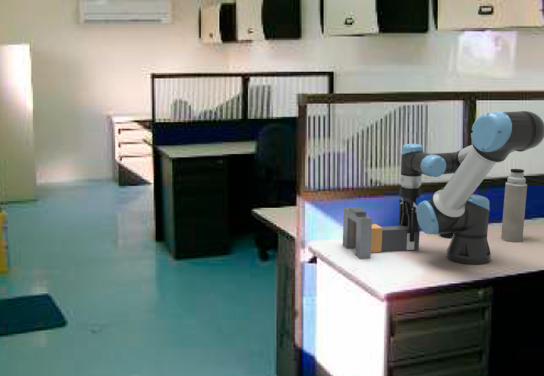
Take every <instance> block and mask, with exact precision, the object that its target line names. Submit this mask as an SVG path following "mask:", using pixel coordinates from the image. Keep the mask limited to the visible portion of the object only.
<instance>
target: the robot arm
mask: <svg viewBox="0 0 544 376" xmlns="http://www.w3.org/2000/svg"><path fill="white" fill-rule="evenodd" d="M471 131H472V132H471V133H470V138H471V145H468V146H465V147H464V148H462V149H460V150H457V151H454V152H437V153H436V152H435V153H428V152H424V146H423V145H422V144H419V143H406V144H403V145H402V148H401V149H402V150H401V154H400V157H401V159H400V163H401V164H400V177H399V181H400V182H399V184H400V187H399V197H401V198H402V199H399V200H398V203H399V204H398V205H399V207H398V211H399V212H398V226H408V229H409V232H407V248H406V250H405V251H415V250H414V242H415V233H417V232H418V228H420V230H421V231H422V232H423V233H425V234H427V235H435V236H436V235H440V234H443V233H451V232H453V236H451V240H450V243H449V245H448V247H447V249H446V258H447V259H448V260H450V261H453V262H455V263H459V264H467V265H483V264H487V263H488V264H489V263H490V262H491V260H492V253H491V249H490V246H489V241H488V231H489V229H488V228H489V218H490V217H489V216H490V211H491V210H490V200H489V199H488V197H486V196H483V195H479V194H474V193H475V192H476V190H477V189H478V187H479V186H480V185H481V184H482V182H483V181H484V179H485V178H486V177H487V176H488V174H489V173H490V172H491V170H492V169H493V167H495V165H496V164H497V163H502V162H504V161H505V160H506V159H507V158H508V157H509V155H510V154H511V153H514V152H519V153H521V152H525V151H527V150H530V149H533V148H536V147H537V146H539V145H540V144H541V143H542V141H543V140H544V121H543V119H542V118H541V117H540V116H539V115H537V114H536V113H534V112H532V111H527V110H524V111H523V110H519V111H499V110H497V111H491V112H486V113H482V114H481V115H480V116H478V117H477V119H475V121H474V123H473V124H472V126H471ZM447 174H448V175H449V174H451V175H452V177H450V178H449V180H448V182H446V185H445V186H444V189H443V190H441V189H439V190H437V191H435V192H434V194H433V195H432V197H431V198H430V199H429V200H423V201H420V202H419V203H417V199H419V198H420V197H421V192H422V191H421V190H422V189H421V186H422V175H425V176H426V177H431V178H432V177H433V178H438V177H439V178H440V176H442V175H447ZM417 204H418V205H417Z"/></svg>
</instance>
